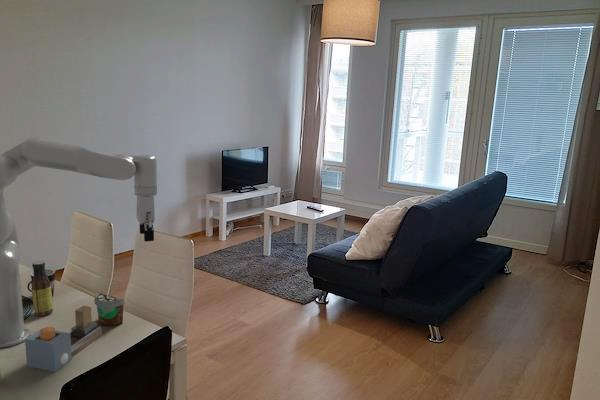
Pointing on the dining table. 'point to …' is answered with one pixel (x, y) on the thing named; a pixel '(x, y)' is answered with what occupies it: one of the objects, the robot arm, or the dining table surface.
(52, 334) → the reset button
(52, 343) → the blue-grey box
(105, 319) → the food container
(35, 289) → the sauce bottle
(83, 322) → the carriage
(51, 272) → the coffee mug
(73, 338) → the rail
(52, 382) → the dining table surface
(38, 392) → the dining table surface
